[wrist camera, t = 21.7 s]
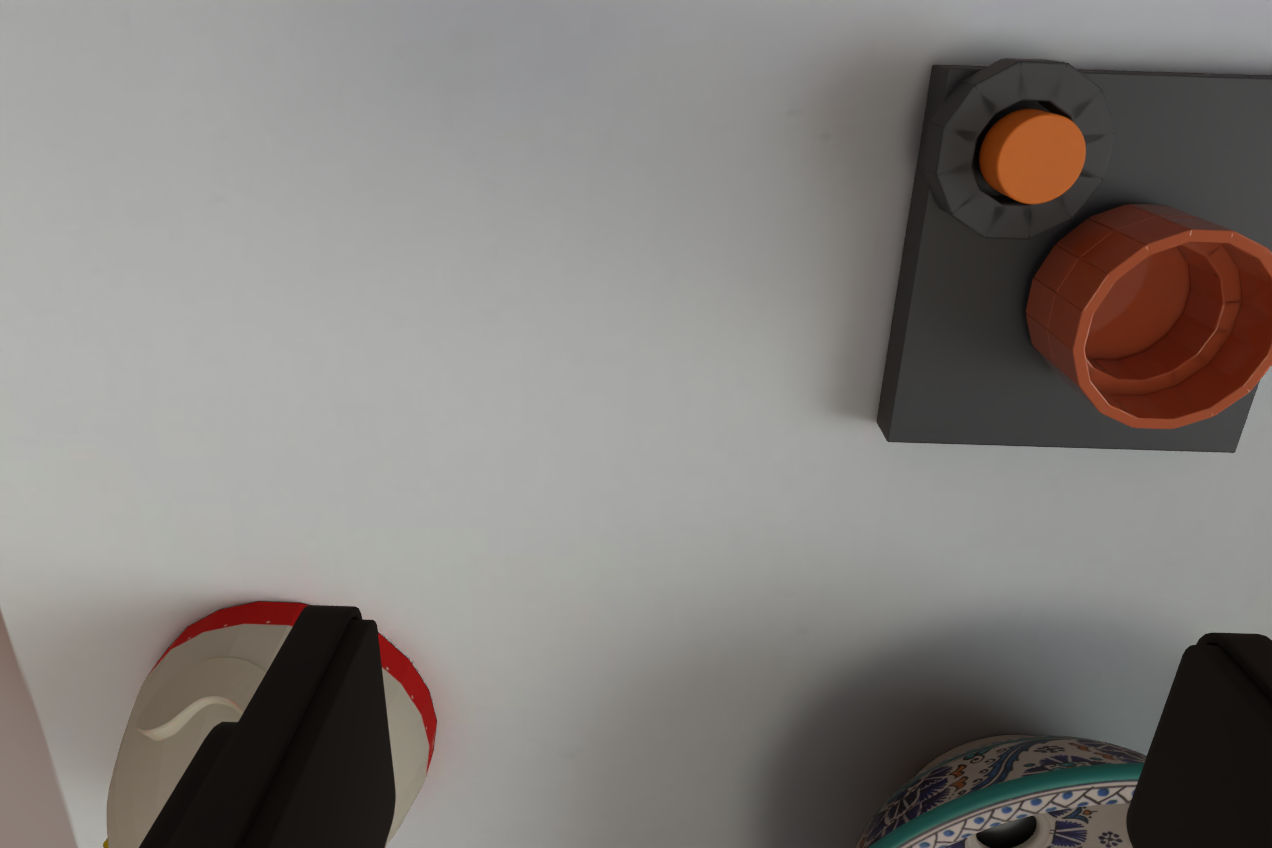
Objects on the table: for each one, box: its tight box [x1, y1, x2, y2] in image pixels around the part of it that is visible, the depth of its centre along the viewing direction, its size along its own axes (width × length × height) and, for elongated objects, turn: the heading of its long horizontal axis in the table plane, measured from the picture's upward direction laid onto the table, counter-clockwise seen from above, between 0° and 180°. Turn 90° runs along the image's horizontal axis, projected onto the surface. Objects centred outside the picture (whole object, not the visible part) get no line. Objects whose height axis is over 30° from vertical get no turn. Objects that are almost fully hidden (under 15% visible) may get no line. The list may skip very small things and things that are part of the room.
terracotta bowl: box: [1026, 204, 1272, 429], centre depth 31 cm, size 7×7×5 cm
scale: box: [877, 58, 1272, 453], centre depth 33 cm, size 14×14×4 cm
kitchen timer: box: [103, 601, 437, 848], centre depth 38 cm, size 14×14×15 cm
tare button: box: [979, 109, 1086, 204], centre depth 29 cm, size 3×3×2 cm
